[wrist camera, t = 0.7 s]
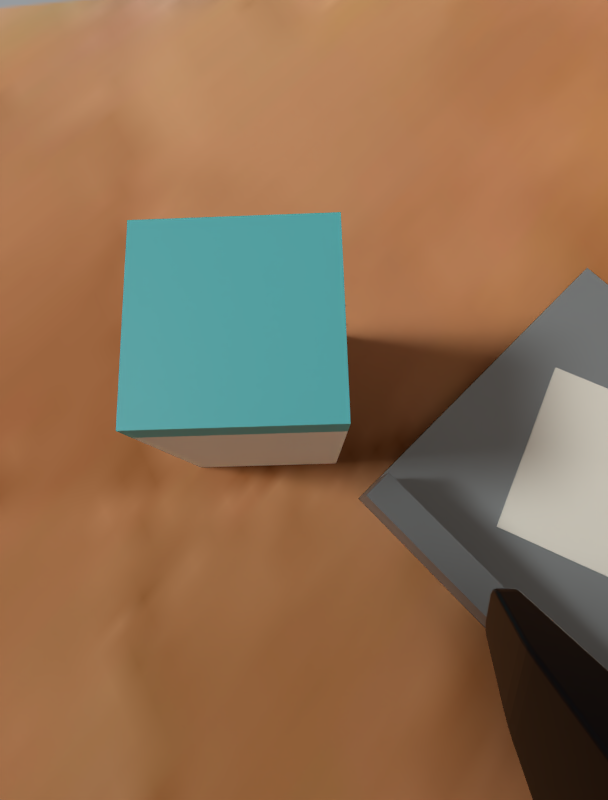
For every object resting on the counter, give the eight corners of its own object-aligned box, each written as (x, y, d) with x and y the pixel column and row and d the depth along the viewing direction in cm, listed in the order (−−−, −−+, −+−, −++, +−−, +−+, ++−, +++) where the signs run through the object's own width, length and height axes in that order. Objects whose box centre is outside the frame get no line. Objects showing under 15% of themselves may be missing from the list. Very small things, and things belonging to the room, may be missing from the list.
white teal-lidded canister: (335, 463, 23) (350, 424, 13) (201, 467, 23) (115, 430, 13) (330, 332, 24) (340, 207, 14) (203, 336, 24) (127, 216, 15)
